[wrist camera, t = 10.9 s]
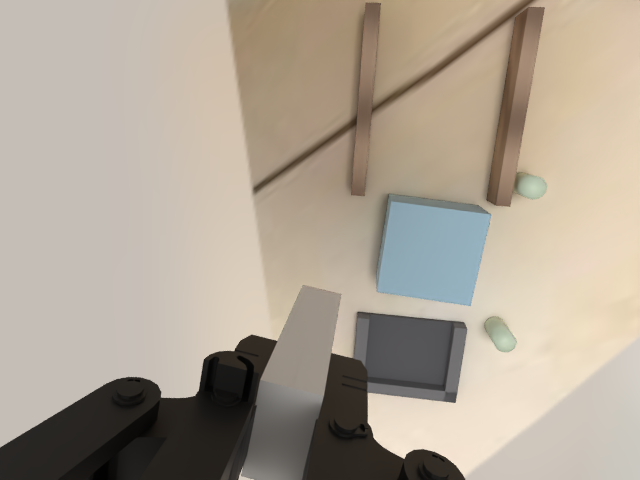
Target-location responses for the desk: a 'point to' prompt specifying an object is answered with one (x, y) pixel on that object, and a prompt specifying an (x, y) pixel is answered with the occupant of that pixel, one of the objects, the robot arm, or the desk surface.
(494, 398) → the desk surface
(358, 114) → the parallel brown rails
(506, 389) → the desk surface
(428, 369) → the tray
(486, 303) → the desk surface
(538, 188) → the goal posts
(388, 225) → the block
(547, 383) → the desk surface
